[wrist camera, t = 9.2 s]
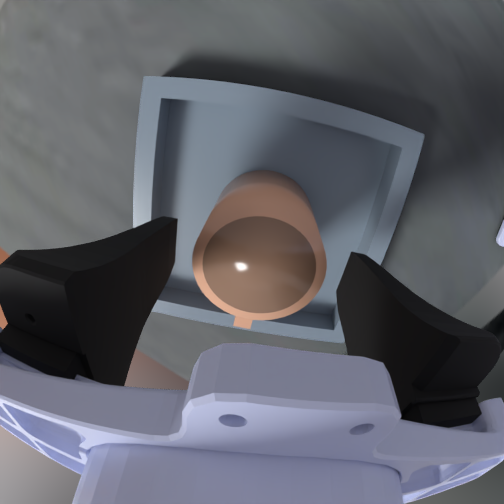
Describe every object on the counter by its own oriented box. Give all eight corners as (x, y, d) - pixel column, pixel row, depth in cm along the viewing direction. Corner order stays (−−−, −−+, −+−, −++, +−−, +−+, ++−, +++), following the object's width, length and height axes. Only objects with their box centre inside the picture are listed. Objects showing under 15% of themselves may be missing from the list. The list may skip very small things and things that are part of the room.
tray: (407, 129, 13) (425, 134, 11) (338, 322, 19) (343, 343, 18) (159, 78, 13) (143, 76, 11) (147, 288, 19) (136, 307, 17)
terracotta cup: (323, 183, 14) (345, 224, 10) (290, 287, 17) (293, 350, 13) (224, 160, 14) (201, 191, 10) (205, 269, 17) (184, 329, 13)
